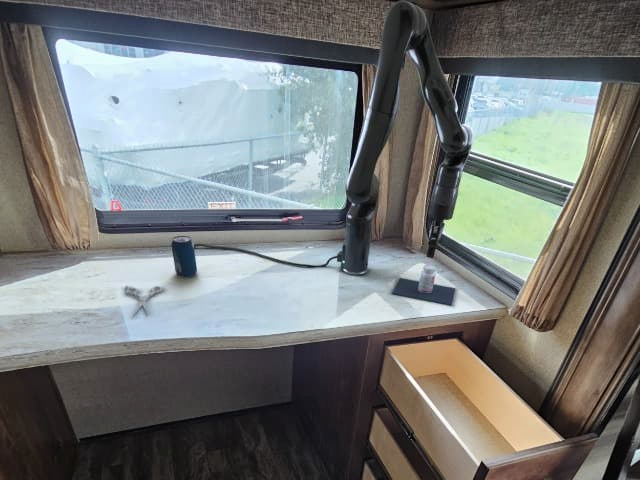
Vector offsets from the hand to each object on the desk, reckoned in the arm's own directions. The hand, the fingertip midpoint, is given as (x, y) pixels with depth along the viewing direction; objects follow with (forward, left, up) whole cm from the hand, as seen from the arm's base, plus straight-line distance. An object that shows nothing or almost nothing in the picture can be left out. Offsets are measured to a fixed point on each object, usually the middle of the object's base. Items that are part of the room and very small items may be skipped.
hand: (431, 253), depth 140 cm
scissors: (-78, -46, -14) cm, 91 cm away
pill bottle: (0, 0, -13) cm, 13 cm away
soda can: (-78, -23, -14) cm, 82 cm away
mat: (0, 0, -14) cm, 14 cm away
